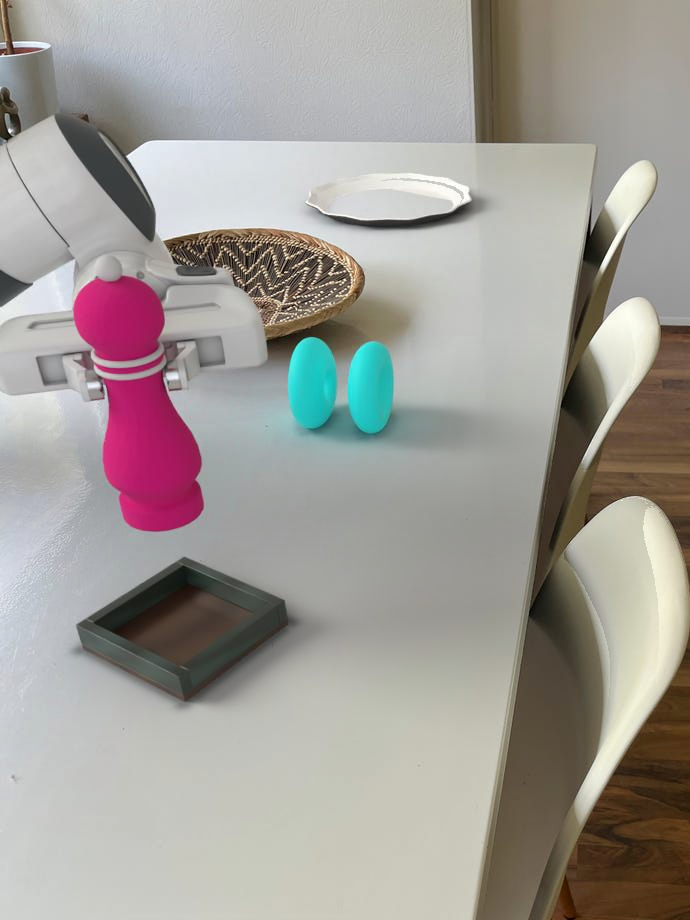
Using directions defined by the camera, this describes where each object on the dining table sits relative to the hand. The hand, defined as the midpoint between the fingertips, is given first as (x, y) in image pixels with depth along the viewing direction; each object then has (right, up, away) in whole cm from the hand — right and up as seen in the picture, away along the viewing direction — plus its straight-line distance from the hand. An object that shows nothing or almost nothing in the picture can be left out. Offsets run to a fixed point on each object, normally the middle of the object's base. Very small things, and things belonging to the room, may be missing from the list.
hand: (135, 386), depth 73 cm
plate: (+9, +60, +111) cm, 126 cm away
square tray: (0, -18, +13) cm, 23 cm away
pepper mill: (0, -8, +8) cm, 11 cm away
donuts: (+9, +6, +44) cm, 45 cm away
